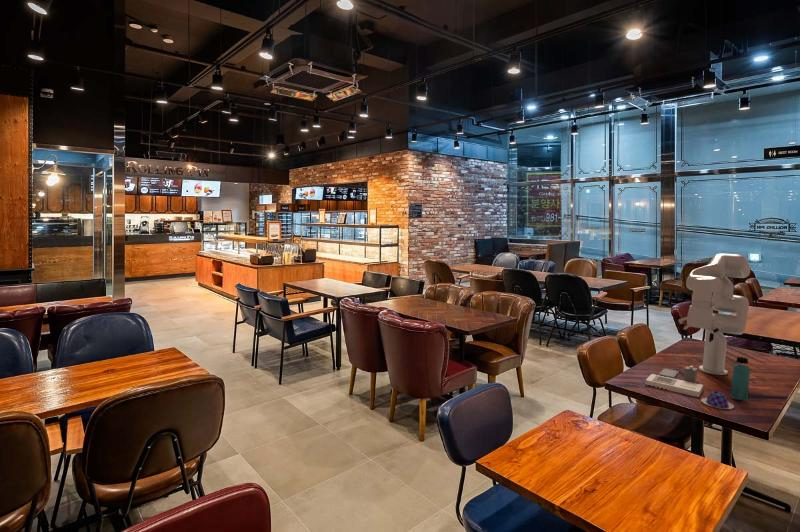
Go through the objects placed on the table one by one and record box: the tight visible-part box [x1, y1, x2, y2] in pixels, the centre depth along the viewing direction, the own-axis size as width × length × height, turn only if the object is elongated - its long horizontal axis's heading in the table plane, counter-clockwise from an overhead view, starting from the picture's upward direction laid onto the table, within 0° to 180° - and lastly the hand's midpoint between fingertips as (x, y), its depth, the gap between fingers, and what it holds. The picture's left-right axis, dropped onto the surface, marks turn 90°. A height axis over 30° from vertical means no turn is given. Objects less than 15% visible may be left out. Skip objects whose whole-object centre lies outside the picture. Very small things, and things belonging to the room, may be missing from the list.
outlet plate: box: [645, 373, 704, 398], centre depth 216 cm, size 12×22×3 cm, turn 49°
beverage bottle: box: [730, 356, 751, 401], centre depth 200 cm, size 6×7×20 cm
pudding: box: [700, 391, 735, 410], centre depth 197 cm, size 12×12×5 cm
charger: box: [683, 365, 698, 383], centre depth 221 cm, size 4×4×9 cm
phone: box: [657, 368, 680, 379], centre depth 235 cm, size 13×7×1 cm, turn 138°
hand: (698, 339), depth 212 cm, fingers open, 9 cm apart
